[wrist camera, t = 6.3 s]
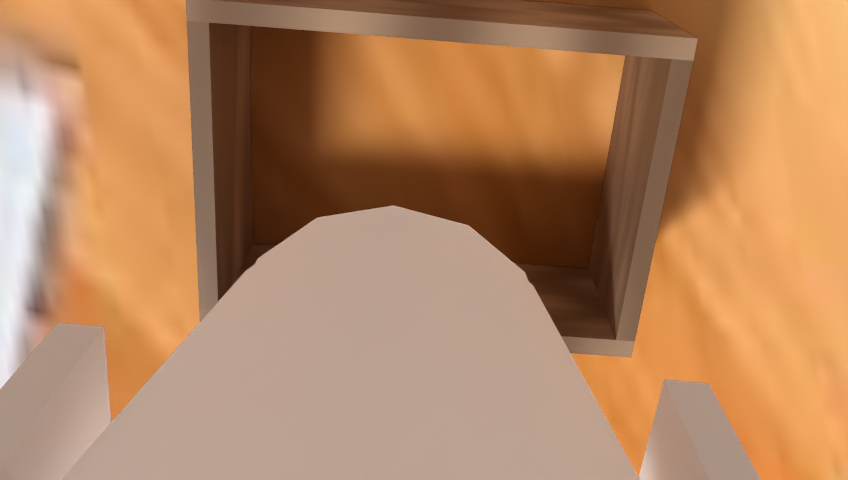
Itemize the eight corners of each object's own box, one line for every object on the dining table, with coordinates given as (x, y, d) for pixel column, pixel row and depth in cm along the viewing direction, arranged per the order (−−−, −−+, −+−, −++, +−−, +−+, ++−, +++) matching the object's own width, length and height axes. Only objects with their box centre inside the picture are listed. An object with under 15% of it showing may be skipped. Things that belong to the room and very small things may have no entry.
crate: (237, 256, 41) (199, 325, 35) (231, -23, 35) (185, -2, 29) (601, 283, 41) (631, 357, 35) (651, 10, 36) (698, 38, 29)
